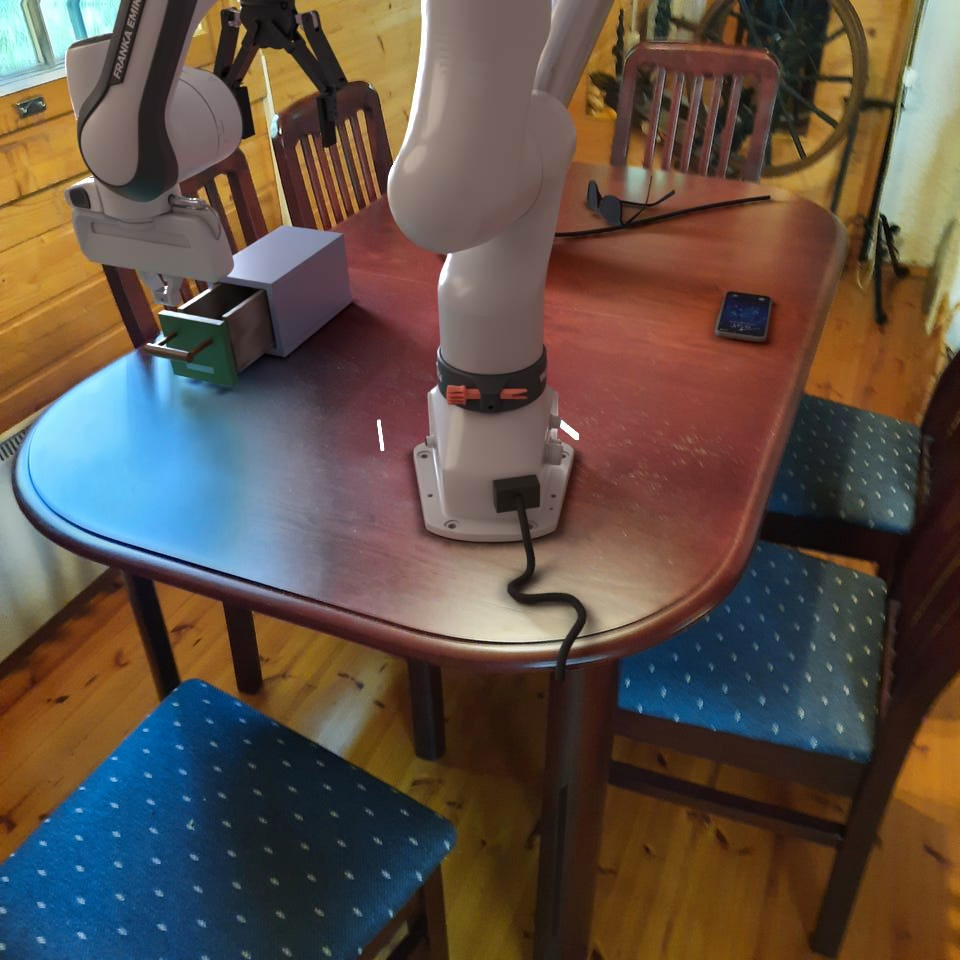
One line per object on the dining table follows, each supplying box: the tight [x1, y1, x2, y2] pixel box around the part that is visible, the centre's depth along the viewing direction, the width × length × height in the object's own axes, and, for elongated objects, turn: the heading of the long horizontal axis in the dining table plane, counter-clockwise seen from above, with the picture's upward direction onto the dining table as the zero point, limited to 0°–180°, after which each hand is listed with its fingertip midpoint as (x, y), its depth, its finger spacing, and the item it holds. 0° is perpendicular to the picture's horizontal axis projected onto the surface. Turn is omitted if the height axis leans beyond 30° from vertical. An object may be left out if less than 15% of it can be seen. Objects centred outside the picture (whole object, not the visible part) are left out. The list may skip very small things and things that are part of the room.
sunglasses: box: [585, 175, 676, 226], centre depth 165 cm, size 17×14×5 cm
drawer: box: [143, 282, 276, 388], centre depth 117 cm, size 24×10×9 cm, turn 158°
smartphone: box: [714, 290, 774, 343], centre depth 128 cm, size 7×1×15 cm
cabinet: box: [206, 224, 353, 358], centre depth 127 cm, size 20×11×11 cm, turn 158°
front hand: (168, 303), depth 105 cm, fingers closed
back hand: (288, 141), depth 121 cm, fingers open, 13 cm apart
